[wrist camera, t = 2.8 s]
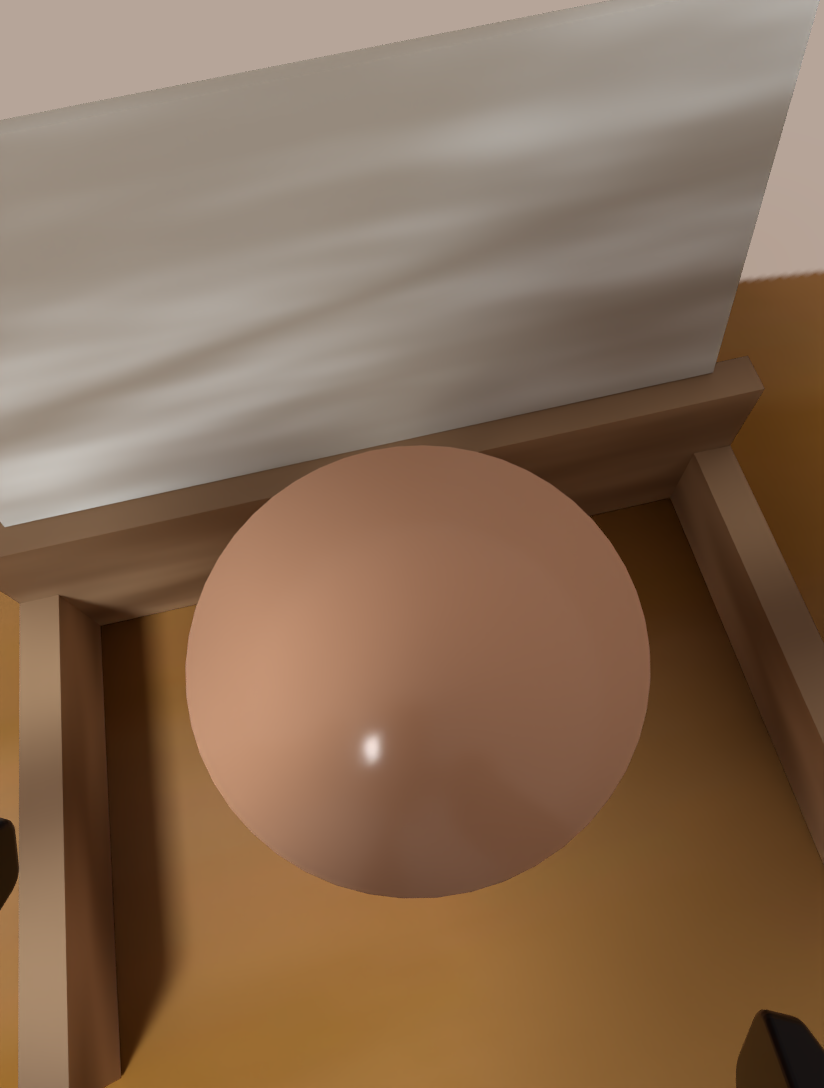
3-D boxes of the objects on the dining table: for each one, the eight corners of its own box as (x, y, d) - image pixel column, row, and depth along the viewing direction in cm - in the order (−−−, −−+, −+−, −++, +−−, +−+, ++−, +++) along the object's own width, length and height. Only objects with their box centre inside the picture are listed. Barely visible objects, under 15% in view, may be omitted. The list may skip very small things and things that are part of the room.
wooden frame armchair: (878, 889, 18) (1690, 889, 6) (76, 1088, 17) (-768, 1531, 5) (663, 403, 24) (865, -70, 12) (63, 535, 23) (-348, 167, 11)
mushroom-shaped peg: (580, 860, 18) (725, 829, 8) (346, 917, 18) (210, 954, 8) (515, 638, 21) (568, 407, 11) (309, 685, 21) (167, 495, 11)
